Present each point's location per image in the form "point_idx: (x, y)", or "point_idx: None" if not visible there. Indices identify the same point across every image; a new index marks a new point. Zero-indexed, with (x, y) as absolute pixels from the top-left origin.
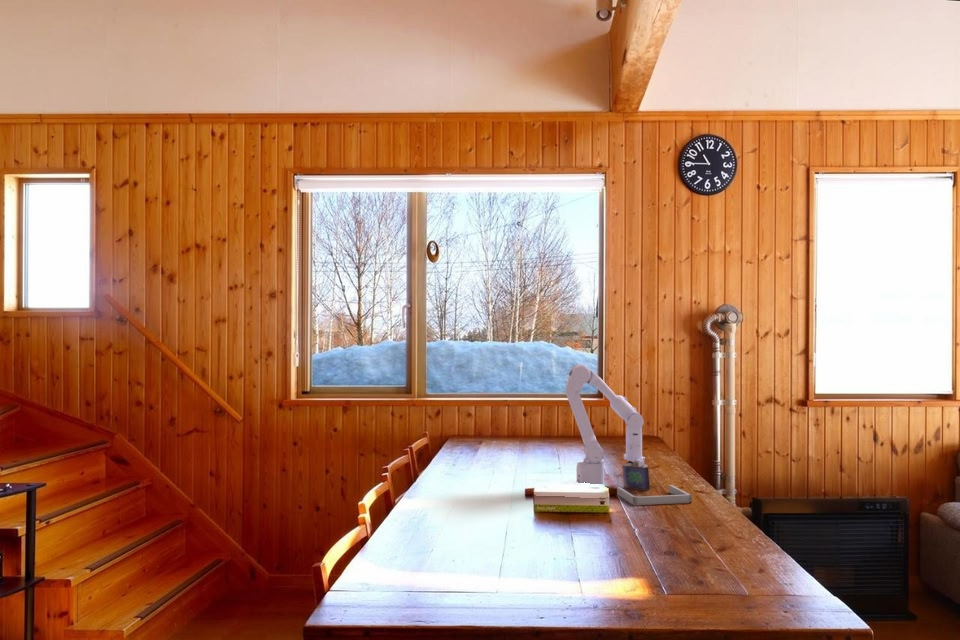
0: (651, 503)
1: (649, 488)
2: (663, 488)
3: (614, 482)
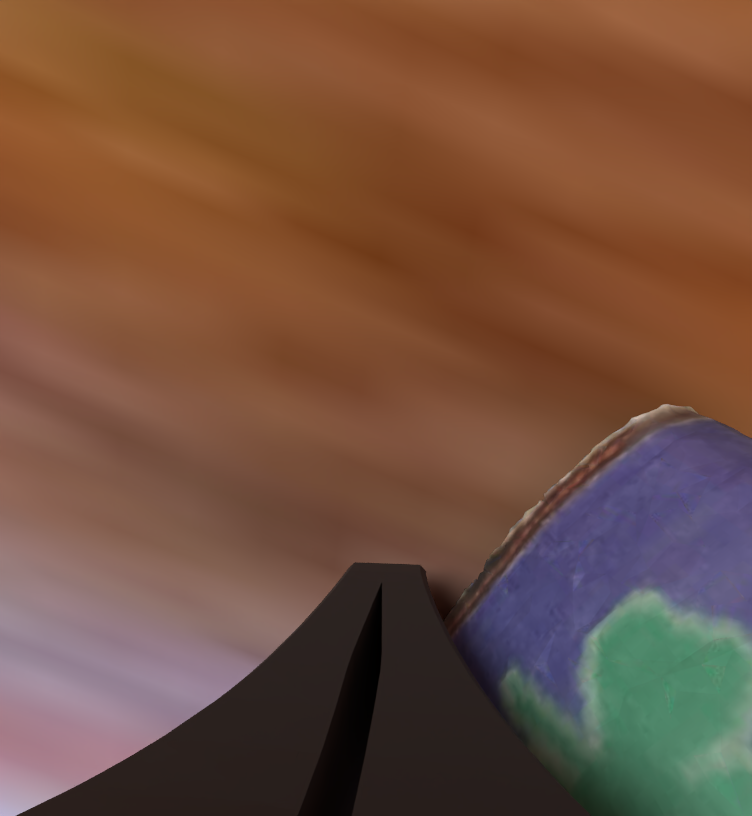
0: None
1: (698, 414)
2: (635, 48)
3: (63, 708)
